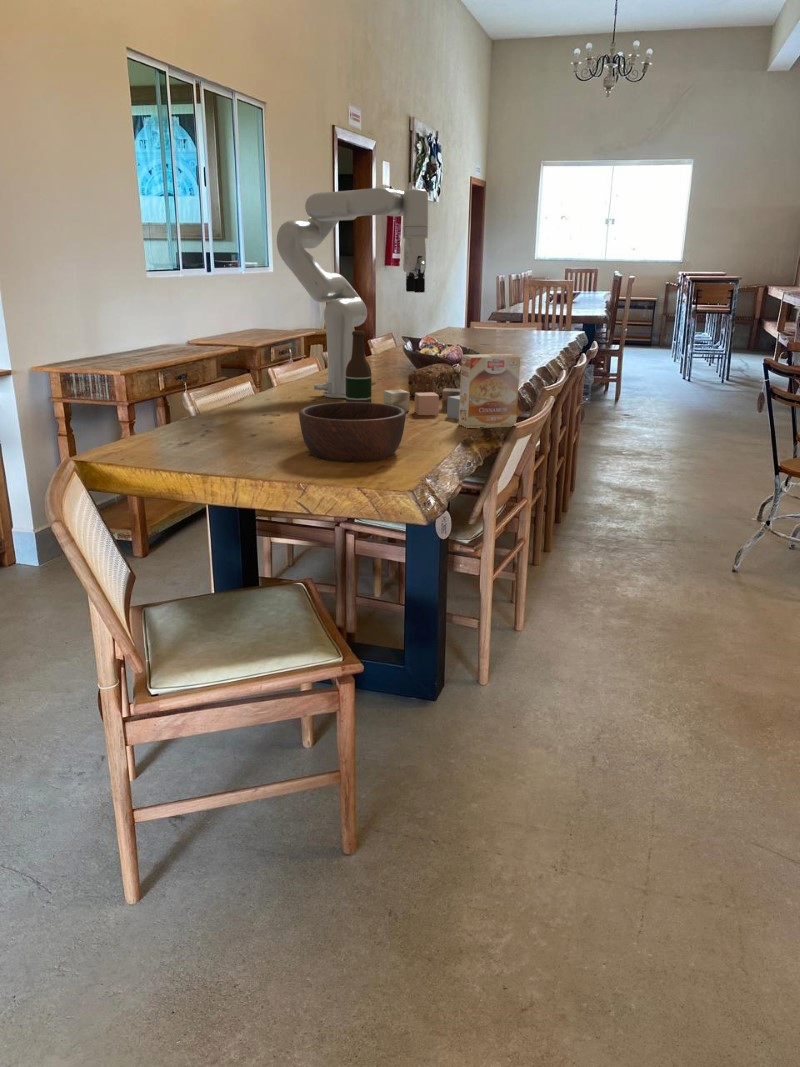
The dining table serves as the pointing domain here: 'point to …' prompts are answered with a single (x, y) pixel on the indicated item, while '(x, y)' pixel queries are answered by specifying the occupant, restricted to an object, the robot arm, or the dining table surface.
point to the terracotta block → (426, 403)
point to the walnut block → (448, 393)
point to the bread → (433, 379)
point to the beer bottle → (358, 372)
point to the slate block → (453, 406)
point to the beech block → (397, 398)
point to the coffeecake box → (489, 390)
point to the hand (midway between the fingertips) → (415, 292)
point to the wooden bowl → (352, 430)
